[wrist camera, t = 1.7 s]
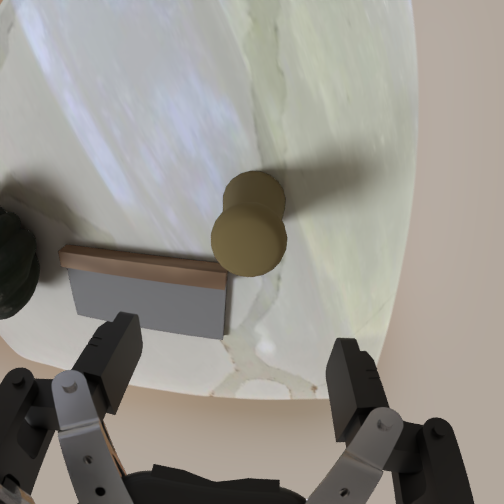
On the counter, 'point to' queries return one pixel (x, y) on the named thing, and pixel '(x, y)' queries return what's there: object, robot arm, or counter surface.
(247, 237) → the olive pawn-shaped piece
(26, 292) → the squash
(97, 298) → the slate mat
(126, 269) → the walnut rail
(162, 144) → the counter surface
